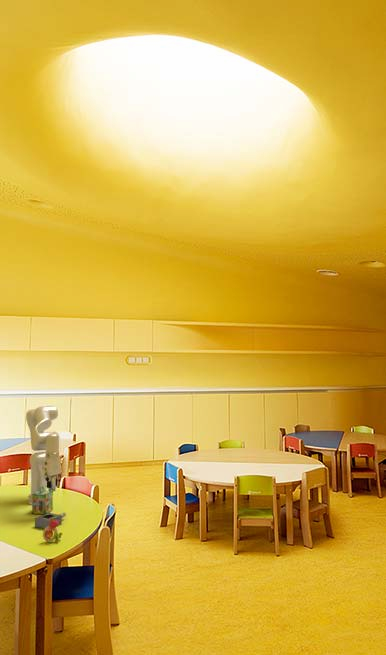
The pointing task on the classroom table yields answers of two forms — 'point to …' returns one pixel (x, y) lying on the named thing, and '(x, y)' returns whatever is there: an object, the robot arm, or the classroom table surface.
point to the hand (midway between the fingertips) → (52, 486)
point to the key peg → (53, 484)
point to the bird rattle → (51, 532)
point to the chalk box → (42, 502)
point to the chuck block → (48, 519)
